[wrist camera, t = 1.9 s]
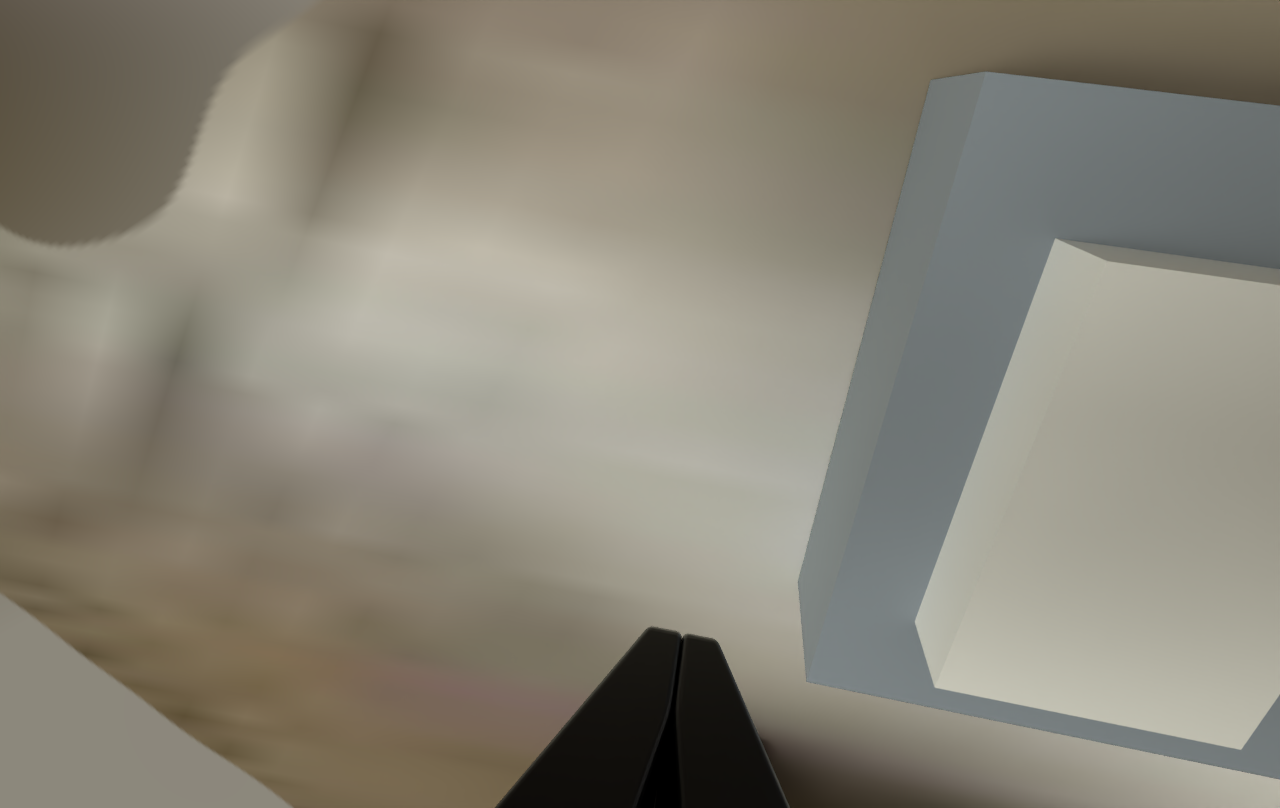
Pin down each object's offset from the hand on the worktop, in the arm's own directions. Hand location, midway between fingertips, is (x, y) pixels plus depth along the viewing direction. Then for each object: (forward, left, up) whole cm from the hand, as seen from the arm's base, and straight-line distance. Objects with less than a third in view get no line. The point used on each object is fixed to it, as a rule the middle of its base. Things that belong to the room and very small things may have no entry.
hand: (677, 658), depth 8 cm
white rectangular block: (0, -8, -7) cm, 11 cm away
